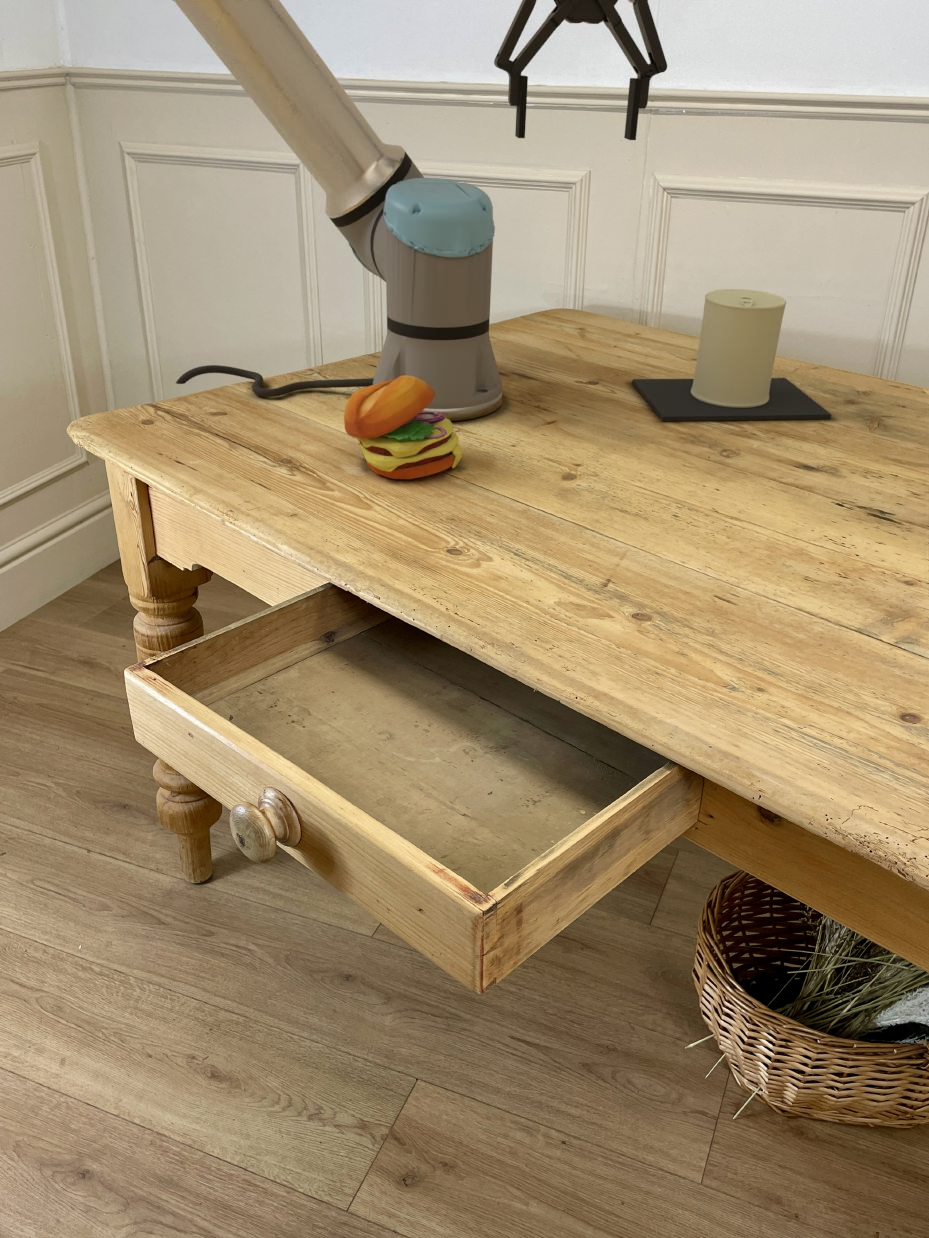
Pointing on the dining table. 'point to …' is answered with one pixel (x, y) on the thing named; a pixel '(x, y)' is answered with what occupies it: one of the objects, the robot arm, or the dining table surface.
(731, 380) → the can
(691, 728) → the dining table surface
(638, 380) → the placemat
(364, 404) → the cheeseburger
